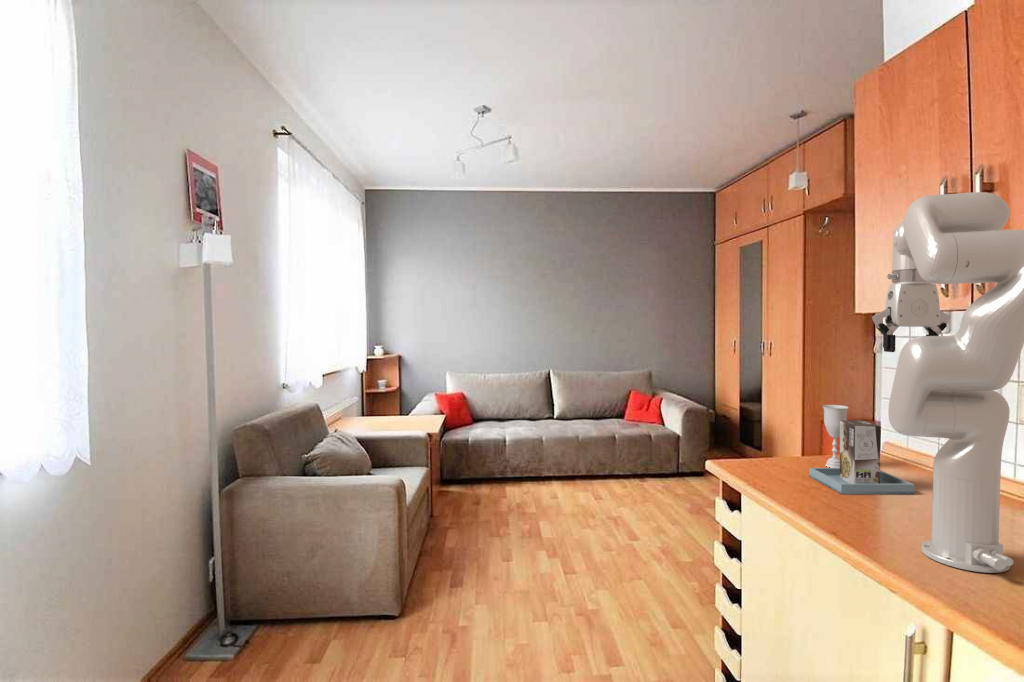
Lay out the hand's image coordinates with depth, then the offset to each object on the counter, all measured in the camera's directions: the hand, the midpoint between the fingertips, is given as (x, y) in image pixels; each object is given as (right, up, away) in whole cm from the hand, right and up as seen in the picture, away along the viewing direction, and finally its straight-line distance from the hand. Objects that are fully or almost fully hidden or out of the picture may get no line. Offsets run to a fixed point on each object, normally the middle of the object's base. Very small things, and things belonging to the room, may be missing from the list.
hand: (910, 351), depth 130 cm
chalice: (+3, -35, +36) cm, 51 cm away
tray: (-1, -36, +17) cm, 40 cm away
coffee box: (-1, -35, +17) cm, 39 cm away
